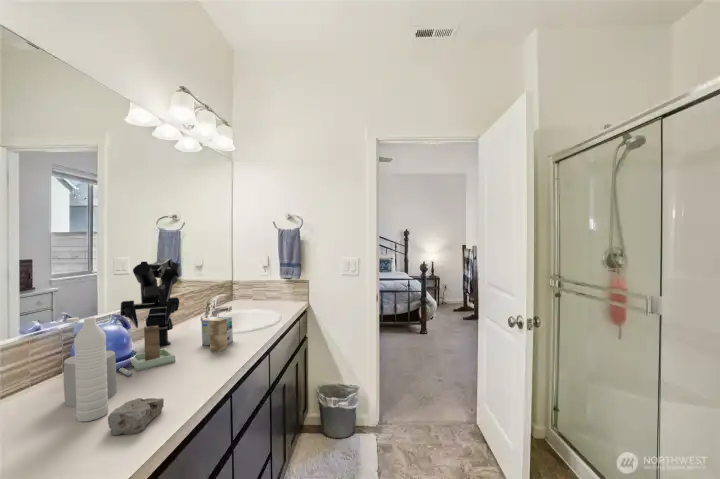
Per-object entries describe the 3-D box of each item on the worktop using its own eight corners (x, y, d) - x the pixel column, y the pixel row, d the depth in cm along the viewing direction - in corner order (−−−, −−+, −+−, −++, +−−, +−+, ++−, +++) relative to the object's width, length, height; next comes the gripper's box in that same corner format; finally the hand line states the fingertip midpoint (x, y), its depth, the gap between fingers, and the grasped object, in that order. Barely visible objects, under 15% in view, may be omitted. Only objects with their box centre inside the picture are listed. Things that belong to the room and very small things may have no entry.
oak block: (210, 350, 143) (209, 320, 143) (218, 347, 147) (217, 317, 147) (219, 351, 142) (219, 321, 142) (227, 348, 146) (226, 318, 146)
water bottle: (114, 409, 95) (111, 314, 95) (96, 422, 89) (92, 320, 88) (81, 409, 95) (78, 315, 95) (60, 422, 89) (57, 321, 88)
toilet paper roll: (125, 393, 105) (124, 353, 105) (77, 411, 95) (76, 367, 95) (103, 385, 111) (102, 348, 111) (55, 401, 100) (54, 360, 100)
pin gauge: (117, 371, 122) (117, 367, 122) (122, 370, 123) (122, 366, 123) (127, 377, 117) (127, 372, 117) (132, 375, 118) (132, 371, 118)
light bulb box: (233, 340, 156) (232, 316, 156) (226, 345, 149) (225, 319, 149) (209, 340, 157) (209, 316, 157) (201, 345, 150) (200, 319, 150)
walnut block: (145, 359, 132) (144, 326, 132) (159, 357, 134) (158, 324, 134) (145, 363, 128) (144, 329, 128) (159, 360, 130) (158, 327, 130)
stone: (168, 406, 96) (125, 413, 94) (165, 385, 95) (122, 392, 93) (152, 437, 83) (103, 447, 81) (149, 414, 83) (99, 423, 80)
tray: (129, 362, 131) (129, 355, 131) (165, 354, 140) (165, 347, 140) (137, 370, 123) (136, 363, 123) (175, 361, 131) (175, 355, 131)
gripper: (121, 278, 129) (122, 315, 120) (179, 276, 140) (183, 310, 131) (120, 297, 135) (120, 333, 126) (175, 293, 146) (179, 327, 137)
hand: (152, 325), depth 130 cm, fingers open, 9 cm apart
